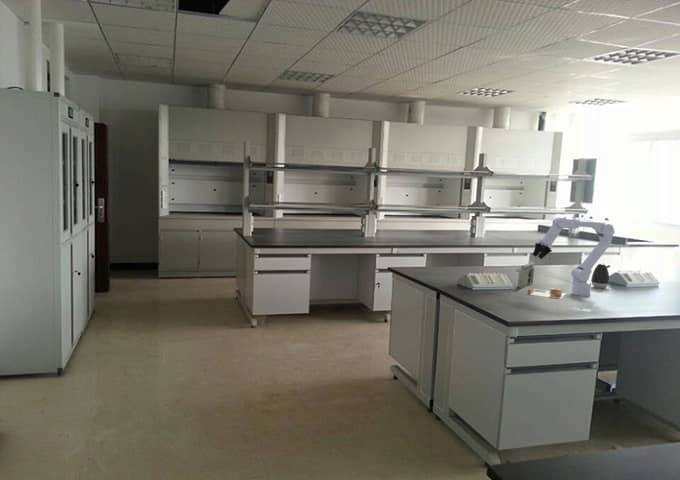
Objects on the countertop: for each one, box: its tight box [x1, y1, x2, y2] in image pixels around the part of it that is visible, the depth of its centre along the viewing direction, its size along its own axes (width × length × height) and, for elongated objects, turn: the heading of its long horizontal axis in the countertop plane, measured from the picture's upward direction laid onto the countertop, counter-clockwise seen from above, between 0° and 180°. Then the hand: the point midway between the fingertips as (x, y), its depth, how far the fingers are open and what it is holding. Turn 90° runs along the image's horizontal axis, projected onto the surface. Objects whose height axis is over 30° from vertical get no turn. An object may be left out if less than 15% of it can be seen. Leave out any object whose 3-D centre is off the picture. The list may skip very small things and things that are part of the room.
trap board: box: [526, 287, 567, 300], centre depth 298 cm, size 18×18×4 cm
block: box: [549, 287, 563, 299], centre depth 292 cm, size 5×5×4 cm
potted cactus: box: [590, 263, 611, 290], centre depth 329 cm, size 10×10×15 cm
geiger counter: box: [515, 261, 535, 289], centre depth 328 cm, size 14×6×25 cm
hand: (536, 256), depth 298 cm, fingers open, 7 cm apart
